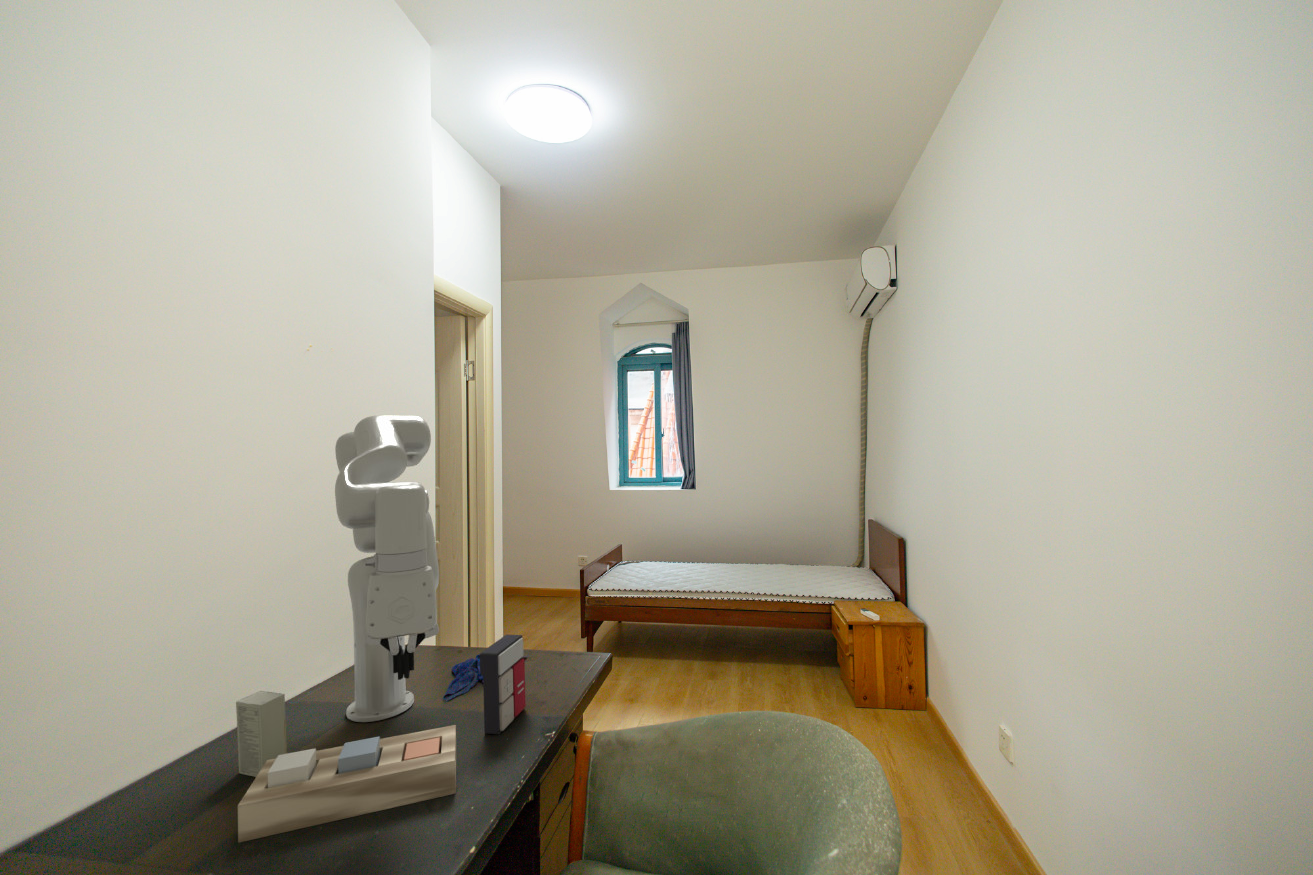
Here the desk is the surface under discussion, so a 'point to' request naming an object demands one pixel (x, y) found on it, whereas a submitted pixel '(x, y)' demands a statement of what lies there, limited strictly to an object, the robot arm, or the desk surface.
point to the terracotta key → (422, 748)
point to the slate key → (359, 755)
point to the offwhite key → (292, 768)
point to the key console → (349, 787)
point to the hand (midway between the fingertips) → (404, 675)
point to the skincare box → (260, 730)
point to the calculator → (503, 682)
